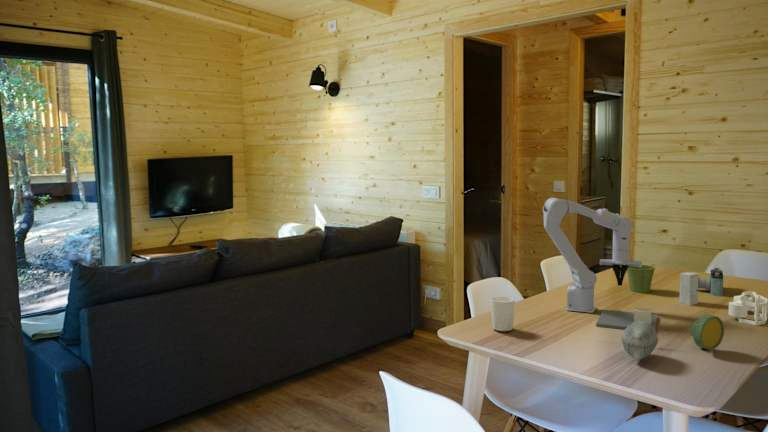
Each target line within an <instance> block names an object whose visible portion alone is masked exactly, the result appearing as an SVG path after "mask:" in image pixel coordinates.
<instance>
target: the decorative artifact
mask: <svg viewBox="0 0 768 432" xmlns="http://www.w3.org/2000/svg"><path fill="white" fill-rule="evenodd" d="M689 334H690V336H692V338H693V339H692V340H693V342H694V344H695V345H696V346H697V347H699V348H702V349H705V350H708V351H713V350H714V349H716V348H718V346H719V345H720V344H722V340H723V339H724V335H725V325H724V322H723V321H722V319H721V317H718V316H715V315H711V314H703V315H701V316H699V317H698V318H697V319H696V320H695V321H694V322H692V324H691V325H690V327H689Z"/></svg>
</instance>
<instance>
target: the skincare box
mask: <svg viewBox="0 0 768 432" xmlns="http://www.w3.org/2000/svg"><path fill="white" fill-rule="evenodd" d="M698 277H699V273H697V272H691V271H687V272H681V273H679V301H678V303H679V304H680V305H685V306H689V307H690V306H691V307H692V306H694V305H696V304H698V303H699V288H698Z"/></svg>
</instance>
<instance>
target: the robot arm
mask: <svg viewBox="0 0 768 432" xmlns="http://www.w3.org/2000/svg"><path fill="white" fill-rule="evenodd" d="M572 213H576V214H579V215H581V216H585V217H588V218H591V219H592V221H593V222H594V224H597V225H599V226H602V227H604V228H607V229H610V230H612V255H611V256H612V259H610V258H608V259H607V258H605V259H604V258H601V259H599V266H603V265H604V266H612V270H613V273H614V276H615V278H616V282H617V286H620V287H622V286H623V281H624V278H625V276H626V273H627V269H628V266H631V267H641V268H642V265H643V261H639V260H638V261H637V260H630V234H631V233H630V232H631V231H632V229H633V228H634V226H633V223H632V220H630V219H629V218H628V217H624V216H621V214H620V213H617V212H616V213H614V212H611V211H609V209H608V208H599V209H597V210H595V209H593V208H590V207H587V206H586V205H583V204H580V203H578V202H576V201H571V200H567V199H563V198H557V197H549V198H547V200H545V202H544V205H543V207H542V214H543V227H544V230H545V231H546V233H547V234H548V236H549V237H550V239H551V240H552V242H553V244H554V245H555V246H556V248H557V250H558V251H559V253H560V254H561V256H562V257H563V259H564V261H566V263H567V265H568V267H569V271H570V272H571V276H572V277H571V278H572V279H573V280H574V282H573V285H572V284H571V285H568V287H567V291H566V296H567V297H566V311H570V312H581V313H590V314H591V313H592V314H593V313H594V312H595V311H596V309H597V307H596V306H595V285H596V283H597V281H598V280H597V275H596V274H595V272H594V271H592V270H590V269H589V267H588V266H587V265H586V264H585V263H584V261H583V260H582V258H581V257H580V256H579V254H578V253H577V251H576V250H575V248H574V247H573V245H572V244H571V242H570V240H569V238H568V237H567V236H566V234H565V233H564V232H563V230H562V228H561V227H560V225H561V222H562V219H563V218H564V217H565V215H566V214H572Z"/></svg>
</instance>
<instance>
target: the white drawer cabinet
mask: <svg viewBox="0 0 768 432" xmlns="http://www.w3.org/2000/svg"><path fill="white" fill-rule="evenodd" d="M633 312H634V322H635V321H645V322H648V323H649V324H650V325H651V322H652V313H653V308H646V307H638V306H637V307H634V310H633Z"/></svg>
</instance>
